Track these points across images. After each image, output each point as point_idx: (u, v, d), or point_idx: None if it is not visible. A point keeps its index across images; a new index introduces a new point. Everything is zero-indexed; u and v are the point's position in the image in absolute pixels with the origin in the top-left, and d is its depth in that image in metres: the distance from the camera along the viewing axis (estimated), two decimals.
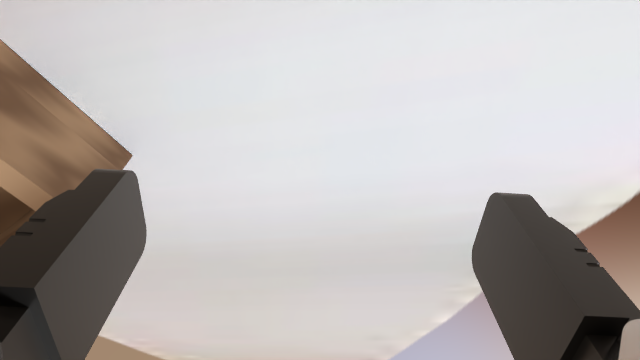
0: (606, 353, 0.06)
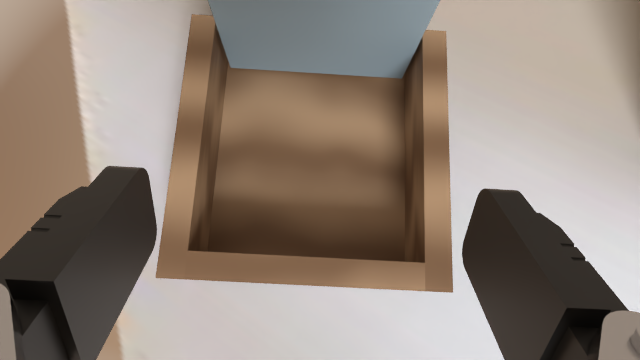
0: (587, 344, 0.06)
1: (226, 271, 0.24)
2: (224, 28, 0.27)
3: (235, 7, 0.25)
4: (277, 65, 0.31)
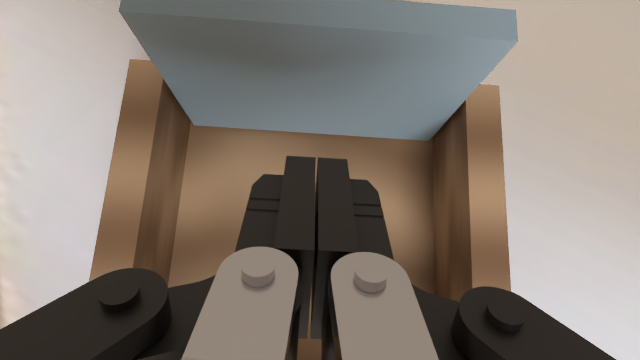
0: None
1: None
2: (175, 82, 0.18)
3: (186, 56, 0.16)
4: (258, 124, 0.23)
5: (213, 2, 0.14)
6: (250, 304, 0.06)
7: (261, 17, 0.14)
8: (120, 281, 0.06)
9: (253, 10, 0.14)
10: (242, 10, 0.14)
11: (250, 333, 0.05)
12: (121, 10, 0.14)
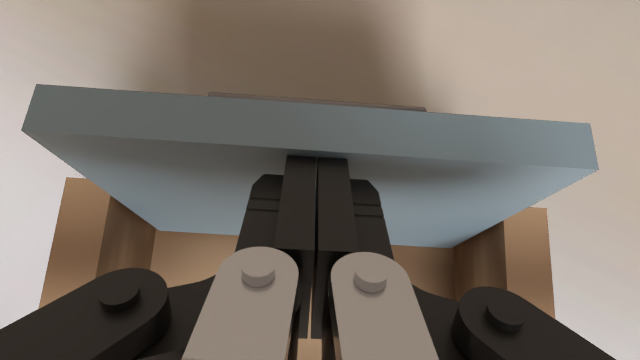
0: None
1: None
2: (125, 196, 0.14)
3: (132, 175, 0.12)
4: (238, 231, 0.18)
5: (160, 116, 0.10)
6: (250, 304, 0.06)
7: (228, 137, 0.10)
8: (120, 282, 0.06)
9: (218, 127, 0.10)
10: (202, 128, 0.10)
11: (250, 333, 0.05)
12: (23, 130, 0.09)
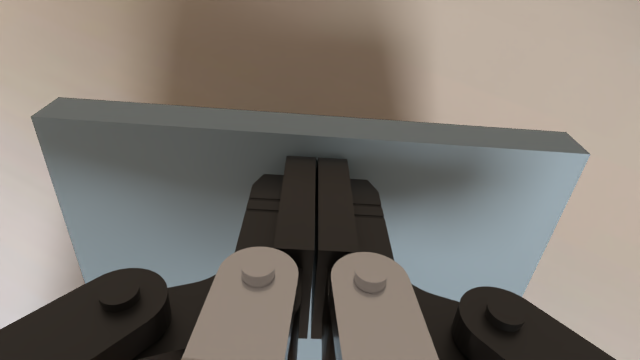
0: None
1: None
2: (96, 269, 0.12)
3: (118, 210, 0.11)
4: None
5: (169, 114, 0.10)
6: (250, 304, 0.06)
7: (232, 126, 0.10)
8: (119, 281, 0.06)
9: (223, 122, 0.10)
10: (207, 121, 0.10)
11: (250, 333, 0.05)
12: (33, 117, 0.10)
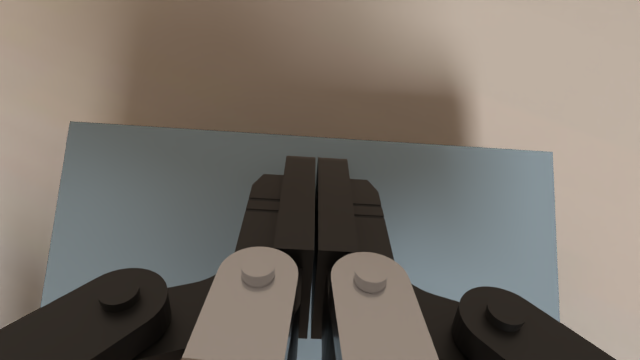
0: None
1: None
2: None
3: (114, 220, 0.11)
4: None
5: None
6: (250, 304, 0.06)
7: (243, 134, 0.12)
8: (120, 281, 0.06)
9: None
10: None
11: (250, 333, 0.05)
12: None
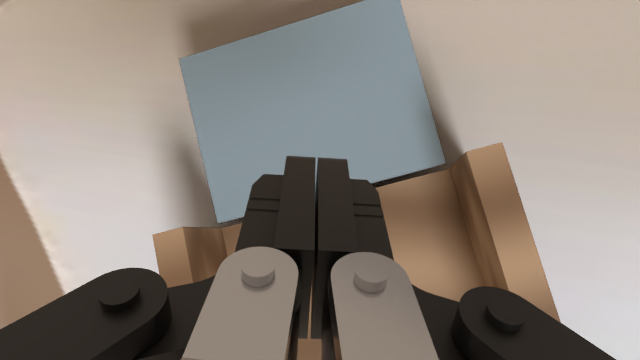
0: None
1: None
2: (204, 134, 0.24)
3: (212, 92, 0.24)
4: None
5: None
6: (250, 304, 0.06)
7: (252, 37, 0.24)
8: (119, 282, 0.06)
9: None
10: None
11: (250, 333, 0.05)
12: None
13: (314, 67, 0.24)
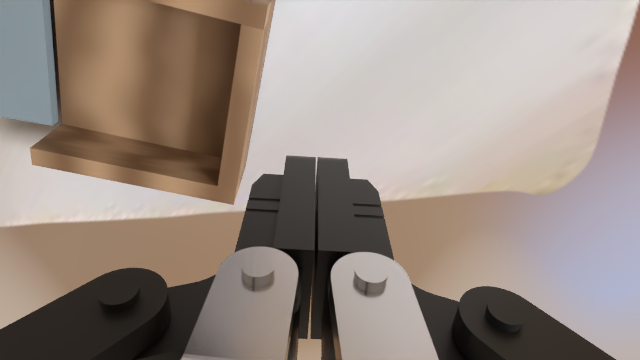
0: None
1: (233, 166, 0.35)
2: None
3: None
4: (38, 85, 0.36)
5: None
6: (250, 304, 0.06)
7: None
8: (119, 281, 0.06)
9: None
10: None
11: (250, 333, 0.05)
12: None
13: None
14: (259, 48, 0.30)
